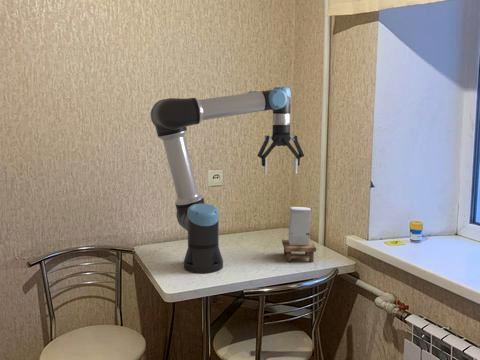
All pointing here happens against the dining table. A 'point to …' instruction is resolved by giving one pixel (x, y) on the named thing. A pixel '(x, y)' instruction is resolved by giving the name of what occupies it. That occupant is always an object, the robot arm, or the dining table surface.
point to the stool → (299, 250)
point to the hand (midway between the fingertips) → (280, 173)
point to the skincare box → (299, 226)
